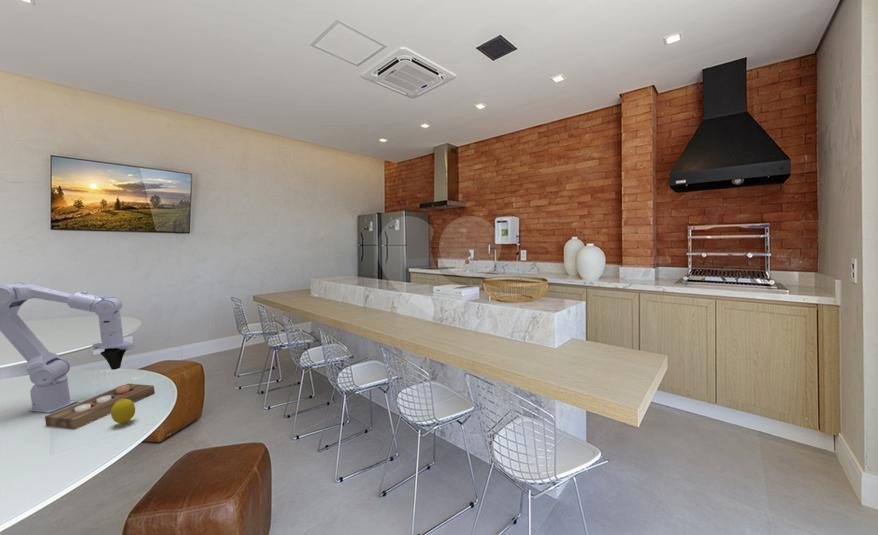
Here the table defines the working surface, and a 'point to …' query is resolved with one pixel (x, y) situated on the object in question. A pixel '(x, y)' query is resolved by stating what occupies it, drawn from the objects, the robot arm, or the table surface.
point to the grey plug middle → (103, 399)
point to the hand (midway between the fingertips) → (116, 368)
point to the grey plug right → (82, 407)
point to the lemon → (123, 411)
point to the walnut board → (95, 407)
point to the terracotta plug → (122, 389)
